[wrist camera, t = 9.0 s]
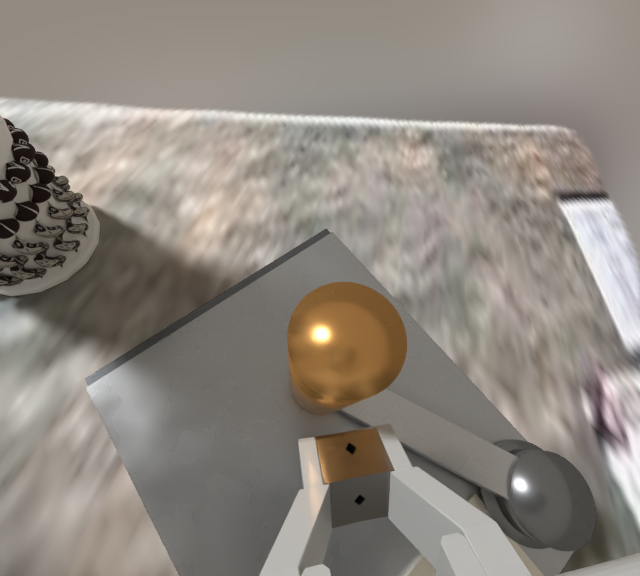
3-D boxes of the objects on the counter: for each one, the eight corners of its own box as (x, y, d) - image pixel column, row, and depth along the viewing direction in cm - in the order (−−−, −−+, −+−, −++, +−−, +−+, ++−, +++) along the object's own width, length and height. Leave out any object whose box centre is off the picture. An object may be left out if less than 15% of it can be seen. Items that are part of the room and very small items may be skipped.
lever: (573, 471, 15) (864, 516, 7) (564, 557, 13) (916, 724, 6) (309, 336, 17) (323, 259, 9) (276, 399, 15) (259, 369, 8)
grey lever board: (112, 385, 18) (77, 377, 15) (324, 248, 23) (329, 221, 20) (333, 804, 12) (346, 923, 9) (551, 499, 18) (604, 514, 15)
